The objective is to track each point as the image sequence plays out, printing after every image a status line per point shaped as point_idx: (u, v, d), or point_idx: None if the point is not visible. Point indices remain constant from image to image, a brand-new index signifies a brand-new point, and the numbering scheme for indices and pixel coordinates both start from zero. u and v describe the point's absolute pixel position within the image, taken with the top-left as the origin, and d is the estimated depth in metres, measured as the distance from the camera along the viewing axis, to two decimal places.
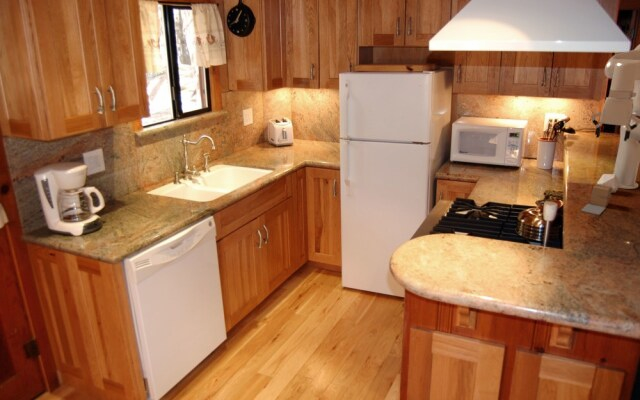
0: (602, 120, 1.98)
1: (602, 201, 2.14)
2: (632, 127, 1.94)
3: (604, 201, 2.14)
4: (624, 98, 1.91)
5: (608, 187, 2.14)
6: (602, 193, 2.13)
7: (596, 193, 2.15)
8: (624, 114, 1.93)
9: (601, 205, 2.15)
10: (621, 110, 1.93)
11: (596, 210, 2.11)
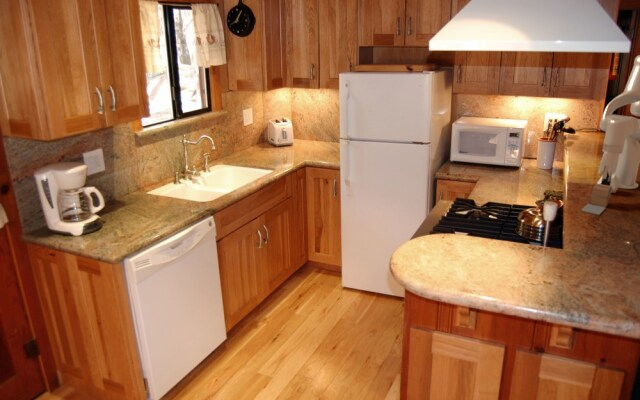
0: (611, 174, 2.13)
1: (602, 201, 2.14)
2: (610, 176, 2.19)
3: (604, 201, 2.14)
4: None
5: (608, 187, 2.14)
6: (602, 193, 2.13)
7: (596, 193, 2.15)
8: (617, 163, 2.16)
9: (601, 205, 2.15)
10: (617, 160, 2.15)
11: (596, 210, 2.11)
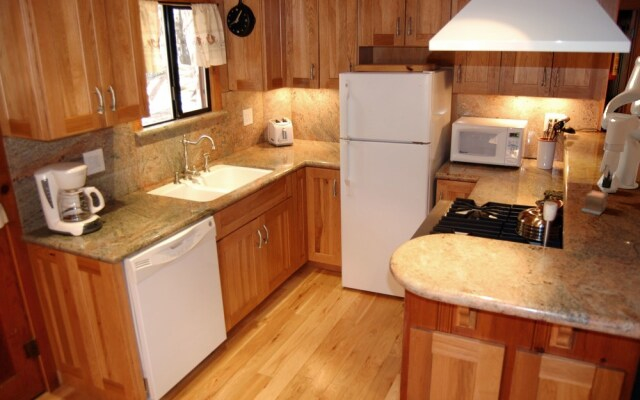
0: (612, 172, 2.14)
1: None
2: None
3: None
4: None
5: (599, 203, 2.08)
6: None
7: None
8: (618, 161, 2.17)
9: None
10: (619, 159, 2.16)
11: None
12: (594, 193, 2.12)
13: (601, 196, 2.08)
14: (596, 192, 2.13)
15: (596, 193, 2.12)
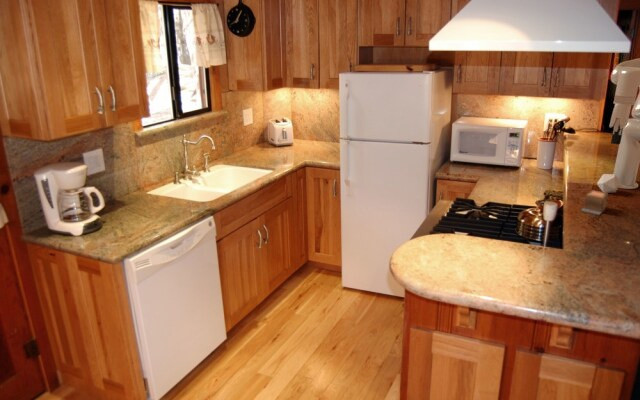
0: (622, 126, 2.08)
1: None
2: None
3: None
4: None
5: (599, 203, 2.08)
6: None
7: None
8: (628, 116, 2.12)
9: None
10: (629, 113, 2.10)
11: None
12: (594, 193, 2.12)
13: (601, 196, 2.08)
14: (596, 192, 2.13)
15: (596, 193, 2.12)
